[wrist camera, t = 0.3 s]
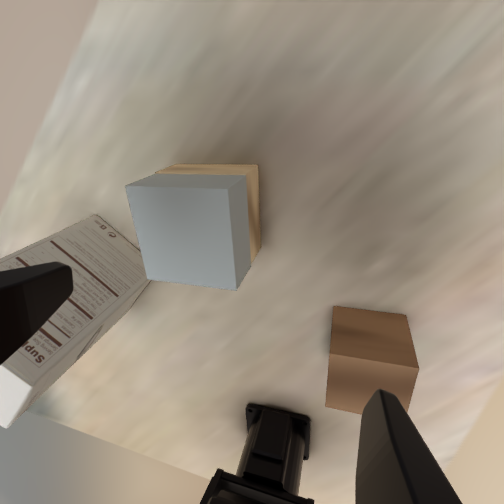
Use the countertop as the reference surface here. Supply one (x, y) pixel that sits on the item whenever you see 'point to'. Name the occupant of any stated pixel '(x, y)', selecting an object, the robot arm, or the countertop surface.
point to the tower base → (252, 191)
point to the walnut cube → (369, 358)
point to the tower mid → (192, 228)
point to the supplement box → (71, 307)
